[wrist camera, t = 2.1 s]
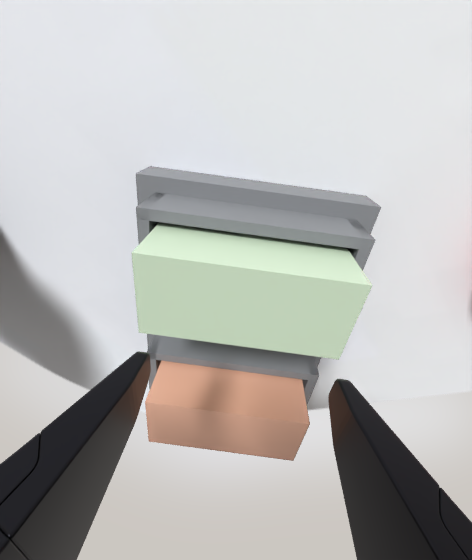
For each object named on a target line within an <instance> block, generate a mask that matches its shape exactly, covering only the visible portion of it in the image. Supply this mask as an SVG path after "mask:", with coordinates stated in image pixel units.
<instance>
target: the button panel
mask: <svg viewBox="0 0 472 560" xmlns="http://www.w3.org/2000/svg"><path fill="white" fill-rule="evenodd" d="M136 185H137V199H138V206H137V207H136V214H137V227H138V241H139V244H140V243H141V242H142V241H143V240H144V239H145V237H146V236H147V235H148V234H149V233H150V232H151V231H152V230H153V229H154V228H155V227H156V225H157V224H158V223H159V222H163V223H170V224H177V225H185V226H192V227H199V228H207V229H214V230H221V231H229V232H236V233H243V234H250V235H258V236H265V237H272V238H280V239H287V240H294V241H302V242H309V243H316V244H324V245H331V246H338V247H346V248H347V249H348V250H349V252H350V253H351V255H352V256H353V258H354V259H355V261H356V262H357V264H358V265H359V267H360V268H361V269H362V271H363V269H364V266H365V264H366V261H367V259H368V256H369V254H370V252H371V249H372V247H373V244H374V242H375V239H374V238H373V237H372V236H371V235H370V234H371V231H372V229H373V226H374V224H375V221H376V219H377V216H378V214H379V211H380V209H381V207H380V206H379V205H378V204H376V203H375V202H374V201H372V200H371V199H369V198H368V197H367V196H363V195H355V194H348V193H341V192H333V191H326V190H319V189H312V188H304V187H297V186H290V185H283V184H275V183H268V182H261V181H253V180H246V179H239V178H232V177H224V176H217V175H210V174H202V173H195V172H188V171H181V170H173V169H166V168H159V167H152V166H150V167H148V168H146V169H144V170H142V171H140V172H138V173H136ZM147 341H148V351H147V353H149V354H150V364H151V372H150V377H149V388H150V389H151V386H152V383H153V381H154V378H155V376H156V373H157V371H158V368H159V365H160V363H161V360H162V361H169V362H177V363H184V364H192V365H199V366H206V367H214V368H221V369H229V370H236V371H243V372H251V373H258V374H266V375H273V376H281V377H288V378H295V379H302V381H303V387H304V393H305V399H306V405H307V404H308V401H309V399H310V396H311V394H312V391H313V389H314V387H315V384H316V382H317V379H318V377H319V373H318V369H317V366H318V364H319V361H320V359H321V357H316V356H309V355H301V354H294V353H286V352H279V351H272V350H264V349H257V348H250V347H242V346H235V345H227V344H220V343H213V342H205V341H198V340H190V339H183V338H176V337H168V336H161V335H153V334H147Z"/></svg>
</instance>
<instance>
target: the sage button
mask: <svg viewBox="0 0 472 560" xmlns="http://www.w3.org/2000/svg"><path fill="white" fill-rule="evenodd" d="M132 262H133V273H134V284H135V295H136V306H137V317H138V328H139V333H146V334H153V335H161V336H168V337H176V338H183V339H190V340H198V341H205V342H213V343H220V344H227V345H235V346H242V347H250V348H257V349H264V350H272V351H279V352H286V353H294V354H301V355H309V356H316V357H323V358H331V359H338V360H339V358H340V356H341V354H342V352H343V349H344V347H345V345H346V343H347V340H348V338H349V336H350V334H351V332H352V329H353V327H354V325H355V323H356V320H357V318H358V316H359V314H360V312H361V309H362V307H363V305H364V303H365V301H366V298H367V296H368V294H369V292H370V289H371V287H372V284H371V283H370V281H369V280H368V278H367V277H366V275H365V274H364V272H363V271H362V269H361V268H360V267H359V265H358V264H357V262H356V261H355V259H354V258H353V256H352V255H351V253H350V252H349V250H348V249H347V248H346V247H338V246H331V245H324V244H316V243H309V242H302V241H294V240H287V239H280V238H272V237H265V236H258V235H250V234H243V233H236V232H229V231H221V230H214V229H207V228H199V227H192V226H185V225H177V224H170V223H163V222H159V223H158V224H157V225H156V227H155V228H154V229H153V230H152V231H151V232H150V233H149V234H148V235H147V236H146V237H145V239H144V240H143V241H142V242H141V243H140V244H139V245H138V246H137V247H136V248H135V250H134V251H133V252H132Z"/></svg>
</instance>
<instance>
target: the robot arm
mask: <svg viewBox="0 0 472 560" xmlns="http://www.w3.org/2000/svg"><path fill="white" fill-rule="evenodd" d="M150 372H151V364H150V354H149V353H146V352H136V353H135V354H134V355H132V356H131V357H130V358H129V359H128V360H126V361H125V362H124V363H123V364H122V365H120V366H119V367H118V368H117V369H115V370H114V371H113V372H112V373H111V374H109V375H108V376H107V377H106V378H105V379H103V380H102V381H101V382H100V383H99V384H97V385H96V386H95V387H94V388H93V389H91V390H90V391H89V392H88V393H87V394H85V395H84V396H83V397H82V398H81V399H79V400H78V401H77V402H76V403H75V404H73V405H72V406H71V407H70V408H69V409H67V410H66V411H65V412H64V413H62V414H61V415H60V416H59V417H58V418H56V419H55V420H54V421H53V422H52V423H51V424H49V425H48V426H47V427H46V428H44V429H43V430H42V431H41V434H40V433H39V434H37V435H36V436H35V437H33V438H32V439H31V440H30V441H29V442H27V443H26V444H25V445H24V446H23V447H21V448H20V449H19V450H18V451H16V452H15V453H14V454H12V455H11V456H10V457H9V458H7V459H6V460H5V461H4V462H2V463H1V464H0V560H77V557H78V555H79V553H80V550H81V548H82V546H83V543H84V541H85V539H86V536H87V534H88V532H89V529H90V527H91V525H92V522H93V520H94V518H95V515H96V513H97V511H98V508H99V506H100V503H101V501H102V499H103V497H104V494H105V492H106V490H107V487H108V485H109V483H110V480H111V478H112V476H113V473H114V471H115V468H116V466H117V464H118V462H119V459H120V457H121V455H122V452H123V450H124V448H125V445H126V443H127V441H128V438H129V436H130V434H131V431H132V429H133V427H134V424H135V421H136V419H137V416H138V413H139V409H140V406H141V403H142V400H143V396H144V393H145V390H146V387H147V383H148V380H149V377H150ZM329 409H330V418H331V428H332V437H333V446H334V451H335V456H336V461H337V466H338V471H339V475H340V480H341V485H342V490H343V494H344V499H345V504H346V509H347V513H348V518H349V523H350V528H351V532H352V537H353V542H354V547H355V552H356V557H357V560H472V522H471V521H470V520H469V519H468V518H467V517H466V515H465V514H464V513H463V512H462V511H461V510H460V509H459V508H458V506H457V505H456V504H455V503H454V502H453V501H452V500H451V499H450V497H449V496H448V495H447V494H446V493H445V491H444V490H443V489H442V488H439V485H438V483H437V482H436V481H435V480H434V479H433V478H432V477H431V475H430V474H429V473H428V472H427V471H426V469H425V468H424V467H423V466H422V465H421V464H420V462H419V461H418V460H417V459H416V458H415V457H414V455H413V454H412V453H411V452H410V451H409V450H408V448H407V447H406V446H405V445H404V444H403V443H402V441H401V440H400V439H399V438H398V437H397V436H396V434H395V433H394V432H393V431H392V430H391V429H390V428H389V426H388V425H387V424H386V423H385V422H384V420H383V419H382V418H381V417H380V416H379V415H378V413H377V412H376V411H375V410H374V409H373V407H372V406H371V405H370V404H369V403H368V402H367V400H366V399H365V398H364V397H363V396H362V395H361V393H360V392H359V391H358V390H357V389H356V388H355V386H354V385H353V384H352V383H351V382H350V381H348V380H343V379H337V380H336V381H335V382H334V385H333V387H332V389H331V391H330V393H329Z"/></svg>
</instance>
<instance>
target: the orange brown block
mask: <svg viewBox="0 0 472 560" xmlns="http://www.w3.org/2000/svg"><path fill="white" fill-rule="evenodd" d="M145 405H146V416H147V427H148V438H149V441H150V442H158V443H165V444H172V445H180V446H187V447H195V448H202V449H210V450H217V451H225V452H232V453H239V454H247V455H255V456H263V457H269V458H277V459H284V460H292V461H293V460H294V458H295V456H296V454H297V451H298V449H299V447H300V445H301V442H302V440H303V438H304V436H305V434H306V431H307V429H308V427H309V425H310V422H309V416H308V411H307V405H306V399H305V393H304V387H303V381H302V379H295V378H288V377H281V376H273V375H266V374H258V373H251V372H243V371H236V370H229V369H221V368H214V367H206V366H199V365H192V364H184V363H177V362H169V361H162V360H161V363H160V365H159V368H158V371H157V373H156V376H155V378H154V381H153V383H152V386H151V389H150V391H149V394H148V396H147V399H146V401H145Z"/></svg>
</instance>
